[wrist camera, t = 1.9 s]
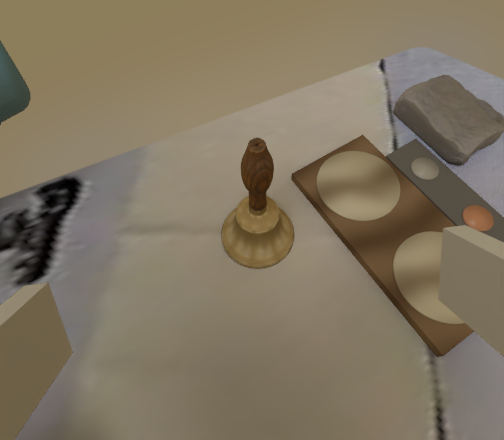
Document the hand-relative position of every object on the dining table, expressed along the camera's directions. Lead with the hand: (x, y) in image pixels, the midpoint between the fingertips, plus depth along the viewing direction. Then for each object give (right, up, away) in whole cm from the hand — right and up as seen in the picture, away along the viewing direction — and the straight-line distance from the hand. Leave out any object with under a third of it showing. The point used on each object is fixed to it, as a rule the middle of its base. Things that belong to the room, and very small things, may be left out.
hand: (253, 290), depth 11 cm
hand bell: (+1, +1, +26) cm, 26 cm away
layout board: (+16, +1, +26) cm, 30 cm away
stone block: (+26, +15, +33) cm, 45 cm away
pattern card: (+23, +5, +28) cm, 36 cm away
